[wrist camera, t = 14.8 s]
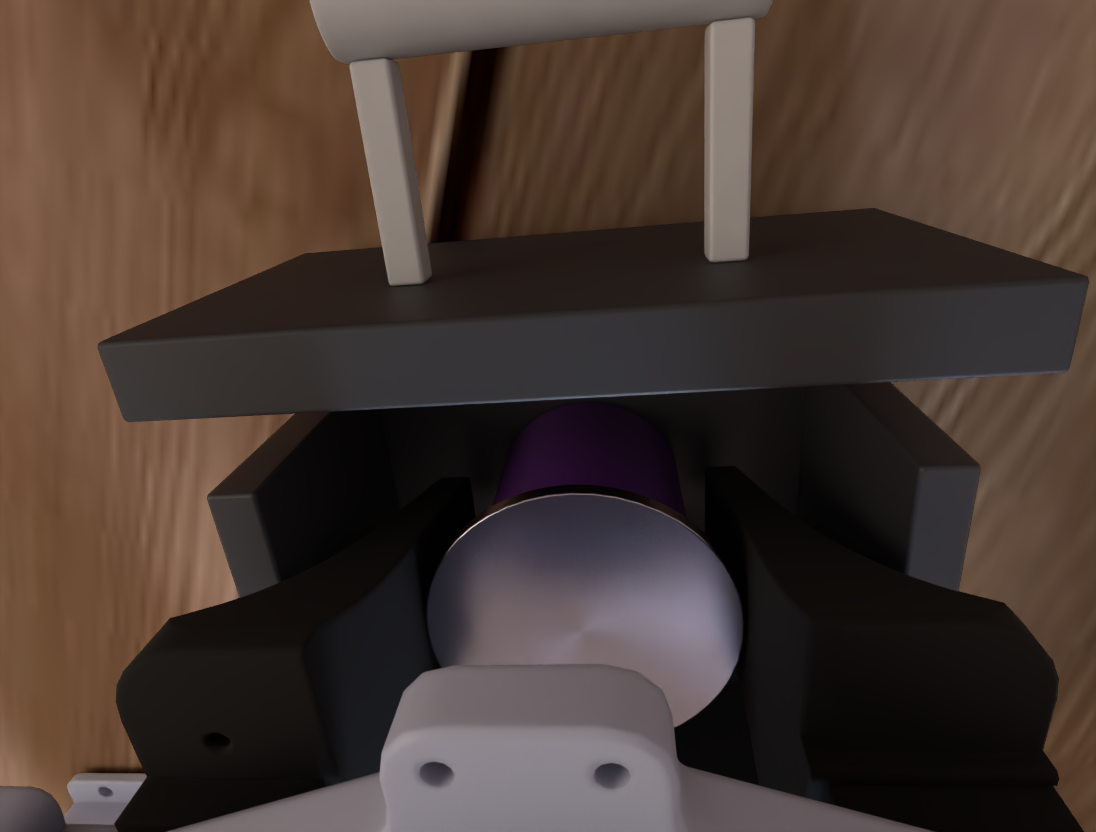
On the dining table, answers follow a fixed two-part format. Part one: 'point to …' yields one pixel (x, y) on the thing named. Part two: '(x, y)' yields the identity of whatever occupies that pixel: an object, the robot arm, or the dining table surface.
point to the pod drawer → (599, 338)
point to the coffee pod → (590, 564)
